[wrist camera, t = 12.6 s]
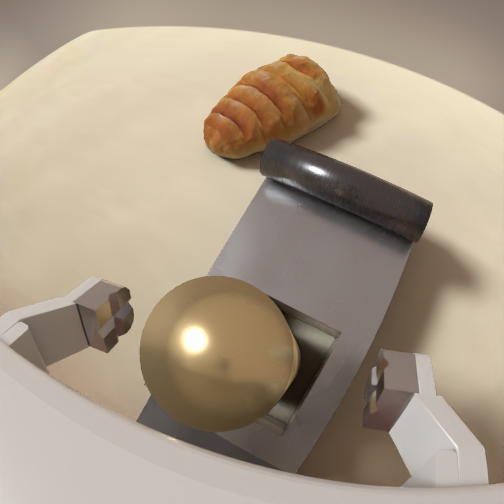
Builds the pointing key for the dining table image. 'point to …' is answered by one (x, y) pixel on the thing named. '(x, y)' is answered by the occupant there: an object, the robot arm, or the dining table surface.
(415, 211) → the grey roller block
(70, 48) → the dining table surface
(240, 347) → the gold rounded cylinder
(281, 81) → the pastry
